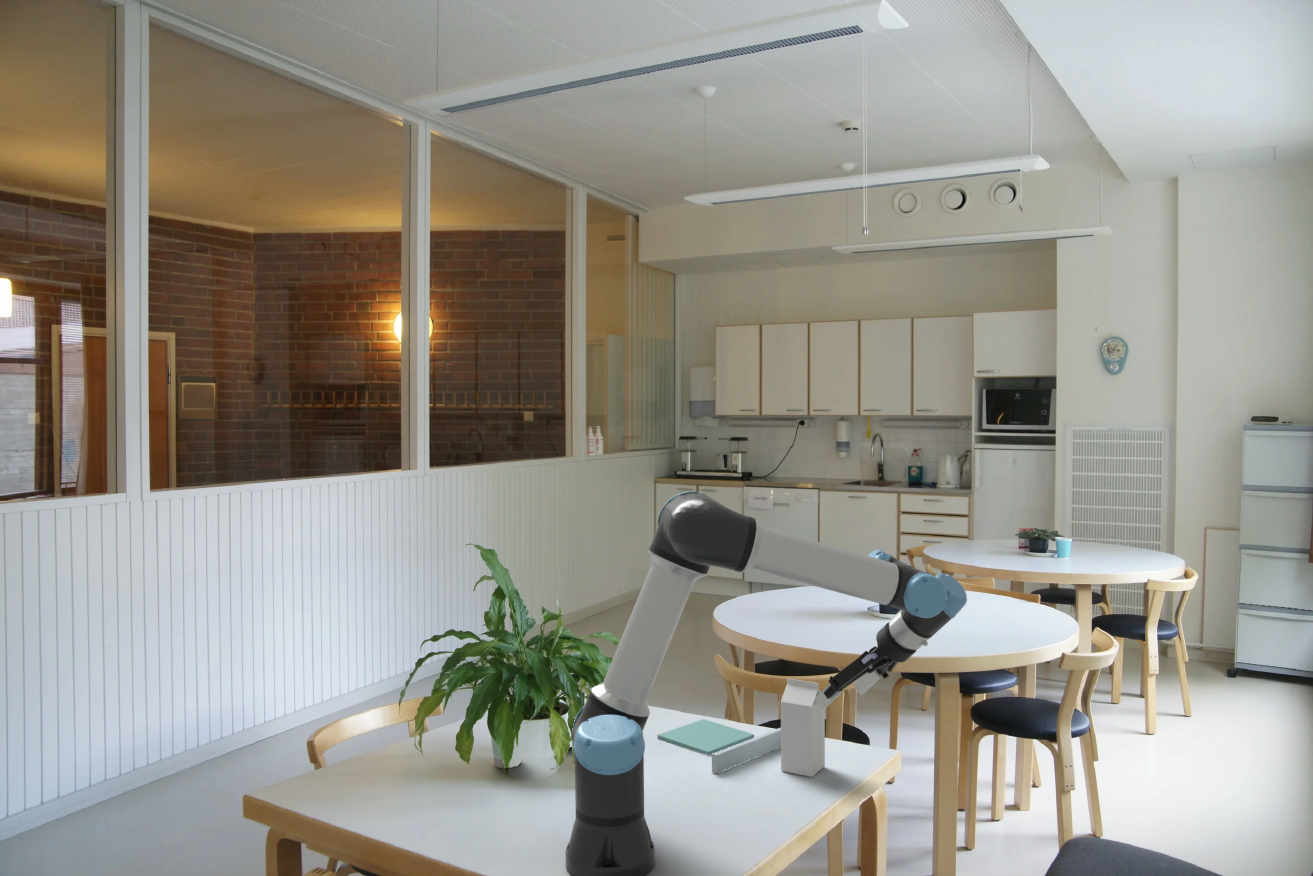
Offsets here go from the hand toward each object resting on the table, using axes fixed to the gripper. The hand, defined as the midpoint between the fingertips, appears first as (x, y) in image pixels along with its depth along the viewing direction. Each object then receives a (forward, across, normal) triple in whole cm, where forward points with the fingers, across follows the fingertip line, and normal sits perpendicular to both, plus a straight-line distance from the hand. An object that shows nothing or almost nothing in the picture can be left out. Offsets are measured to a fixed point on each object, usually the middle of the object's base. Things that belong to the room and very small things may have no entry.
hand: (838, 696), depth 196 cm
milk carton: (+19, -1, -6) cm, 20 cm away
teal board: (+38, -1, +14) cm, 41 cm away
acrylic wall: (+27, -2, +3) cm, 27 cm away
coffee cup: (+52, -43, +28) cm, 73 cm away
